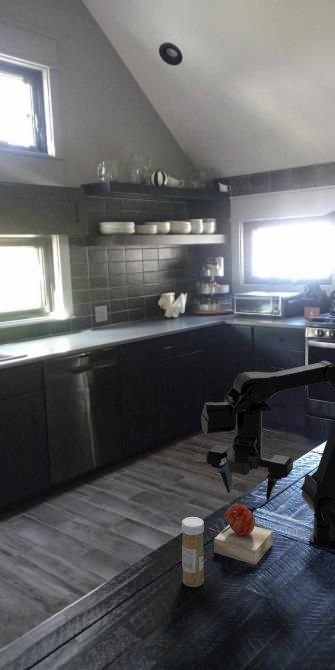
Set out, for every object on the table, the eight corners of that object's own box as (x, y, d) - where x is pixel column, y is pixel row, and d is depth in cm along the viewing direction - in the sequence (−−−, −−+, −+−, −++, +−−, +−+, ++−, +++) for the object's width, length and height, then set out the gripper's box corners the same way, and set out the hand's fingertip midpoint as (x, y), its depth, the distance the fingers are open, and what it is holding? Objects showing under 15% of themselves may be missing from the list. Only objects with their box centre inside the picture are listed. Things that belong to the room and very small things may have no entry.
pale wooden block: (233, 535, 137) (233, 520, 137) (272, 547, 132) (272, 531, 131) (214, 554, 129) (214, 538, 128) (255, 567, 124) (255, 550, 123)
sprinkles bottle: (208, 583, 117) (208, 522, 115) (190, 590, 115) (190, 529, 113) (195, 572, 121) (195, 513, 119) (177, 579, 118) (177, 519, 116)
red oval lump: (228, 552, 127) (264, 529, 124) (209, 524, 127) (244, 501, 125) (232, 538, 134) (267, 516, 132) (214, 512, 135) (248, 490, 132)
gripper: (195, 435, 123) (195, 502, 125) (279, 448, 114) (278, 521, 117) (215, 420, 132) (215, 483, 135) (294, 431, 124) (293, 499, 126)
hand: (248, 496), depth 128 cm, fingers open, 9 cm apart
